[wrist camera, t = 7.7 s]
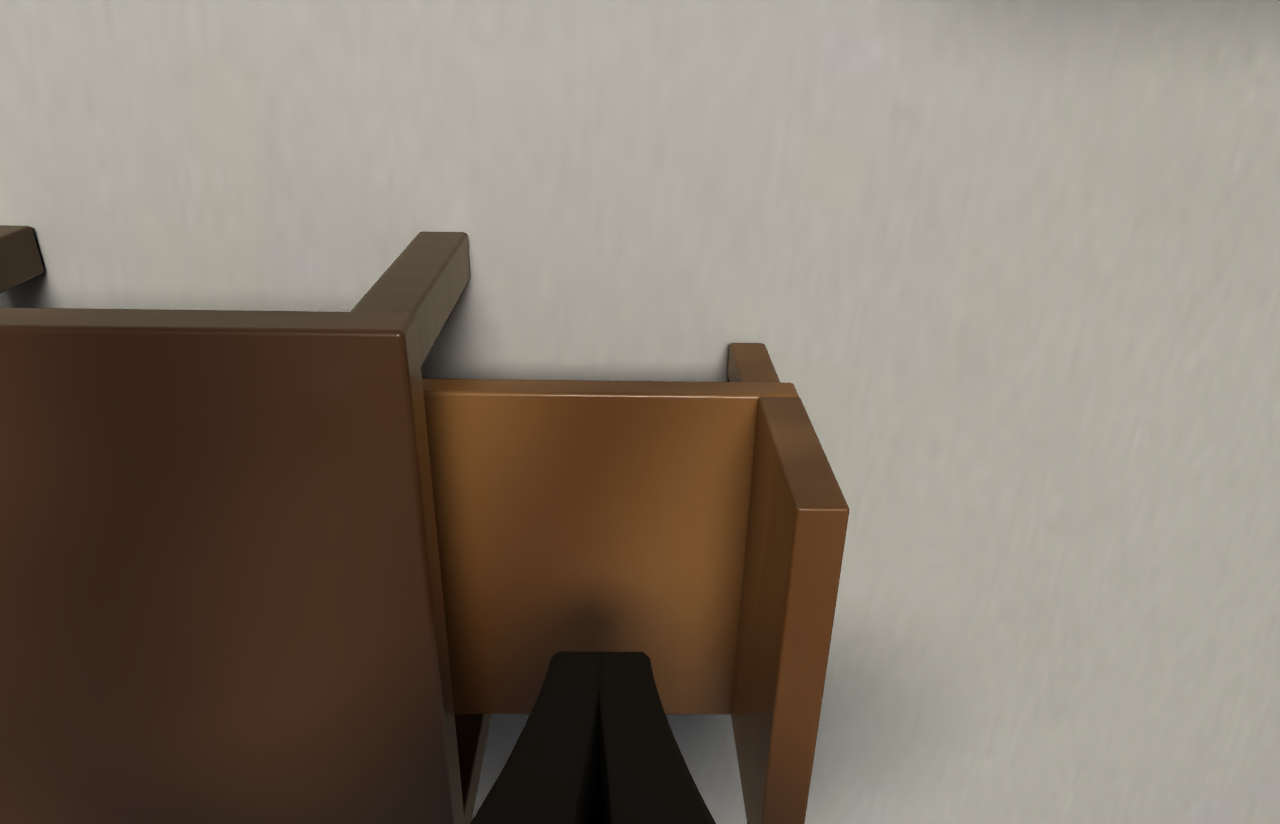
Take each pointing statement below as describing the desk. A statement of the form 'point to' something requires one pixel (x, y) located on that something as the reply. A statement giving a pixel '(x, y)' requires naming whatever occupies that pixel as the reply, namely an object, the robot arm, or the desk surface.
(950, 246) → the desk surface
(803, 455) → the oak chair
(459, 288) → the dining table
